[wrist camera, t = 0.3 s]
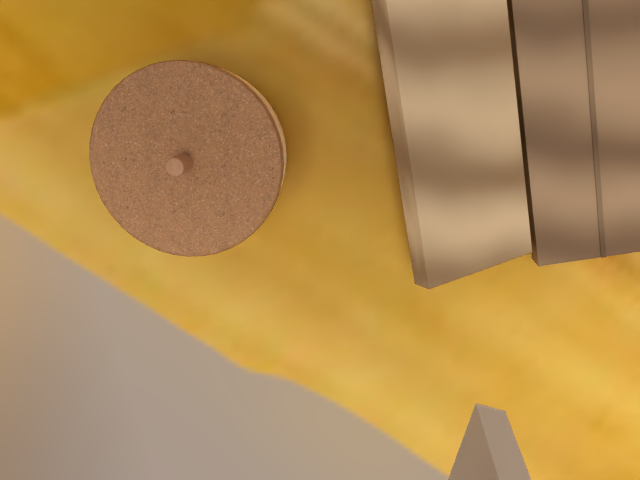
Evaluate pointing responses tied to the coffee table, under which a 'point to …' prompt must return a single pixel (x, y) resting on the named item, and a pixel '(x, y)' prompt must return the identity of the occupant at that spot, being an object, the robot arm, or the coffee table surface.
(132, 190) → the lidded jar
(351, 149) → the coffee table surface
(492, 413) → the robot arm
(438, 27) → the plank
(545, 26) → the laid board
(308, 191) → the coffee table surface
